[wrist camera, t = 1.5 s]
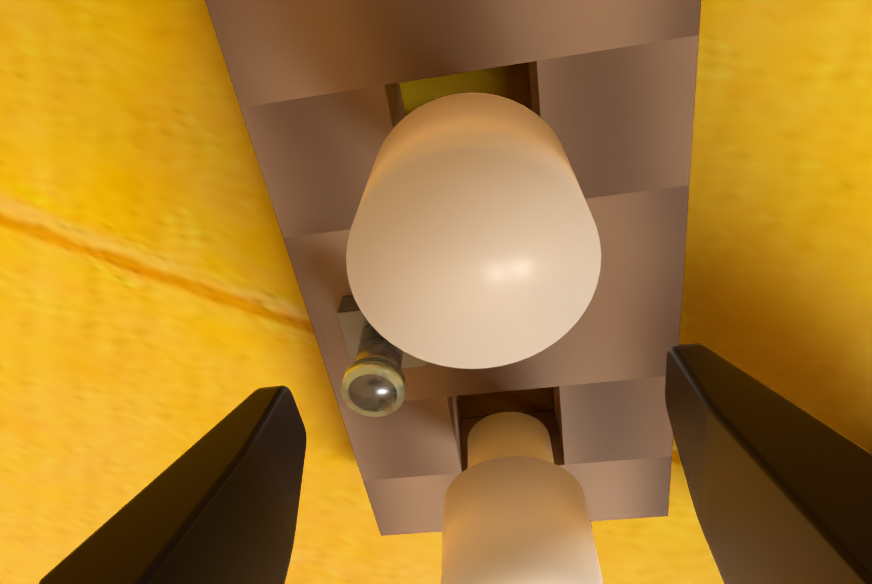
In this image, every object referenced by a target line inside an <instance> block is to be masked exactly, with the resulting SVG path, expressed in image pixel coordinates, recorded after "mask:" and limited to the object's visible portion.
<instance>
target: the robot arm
mask: <svg viewBox="0 0 872 584" xmlns="http://www.w3.org/2000/svg"><path fill="white" fill-rule="evenodd" d="M665 403H666V409H667V413H668V416H669V420H670V424H671V427H672V431H673V434H674V438H675V441H676V445H677V448H678V452H679V455H680V459H681V462H682V466H683V470H684V473H685V477H686V480H687V484H688V487H689V491H690V494H691V498H692V501H693V504H694V508H695V511H696V514H697V517H698V520H699V523H700V525H701V528H702V530H703V533H704V536H705V538H706V541H707V543H708V545H709V548H710V550H711V553H712V555H713V557H714V560H715V562H716V565H717V567H718V569H719V572H720V574H721V577H722V579H723V581H724V584H872V453H870V452H869V451H867V450H866V449H864V448H863V447H861V446H859V445H858V444H856V443H855V442H853V441H852V440H850V439H849V438H847V437H846V436H844V435H843V434H841V433H839V432H838V431H836V430H835V429H833V428H832V427H830V426H829V425H827V424H826V423H824V422H822V421H821V420H819V419H818V418H816V417H815V416H813V415H812V414H810V413H809V412H807V411H806V410H804V409H802V408H801V407H799V406H798V405H796V404H795V403H793V402H792V401H790V400H789V399H787V398H786V397H784V396H782V395H781V394H779V393H778V392H776V391H775V390H773V389H772V388H770V387H769V386H767V385H766V384H764V383H762V382H761V381H759V380H758V379H756V378H755V377H753V376H752V375H750V374H749V373H747V372H746V371H744V370H742V369H741V368H739V367H738V366H736V365H735V364H733V363H732V362H730V361H729V360H727V359H725V358H724V357H722V356H721V355H719V354H718V353H716V352H715V351H713V350H712V349H710V348H709V347H707V346H705V345H703V344H698V343H696V344H686V345H677V346H672V347H671V348H669V350H668V352H667V358H666V379H665ZM305 450H306V431H305V427H304V424H303V422H302V419H301V416H300V414H299V411H298V408H297V406H296V403H295V401H294V398H293V395H292V393H291V391H290V390H289V389H288V388H287V387H285V386H274V387H264V388H259V389H257V390H256V391H254V392H253V393H252V394H251V395H250V396H249V397H247V398H246V399H245V400H244V401H243V402H242V403H241V404H240V405H238V406H237V407H236V408H235V409H234V410H233V411H232V412H230V413H229V414H228V415H227V416H226V417H225V418H224V419H223V420H221V421H220V422H219V423H218V424H217V425H216V426H215V427H213V428H212V429H211V430H210V431H209V432H208V433H207V434H205V435H204V436H203V437H202V438H201V439H200V440H199V441H198V442H196V443H195V444H194V445H193V446H192V447H191V448H190V449H188V450H187V451H186V452H185V453H184V454H183V455H182V456H181V457H179V458H178V459H177V460H176V461H175V462H174V463H173V464H171V465H170V466H169V467H168V468H167V469H166V470H165V471H164V472H162V473H161V474H160V475H159V476H158V477H157V478H156V479H154V480H153V481H152V482H151V483H150V484H149V485H148V486H147V487H145V488H144V489H143V490H142V491H141V492H140V493H139V494H137V495H136V496H135V497H134V498H133V499H132V500H131V501H130V502H128V503H127V504H126V505H125V506H124V507H123V508H122V509H120V510H119V511H118V512H117V513H116V514H115V515H114V516H113V517H111V518H110V519H109V520H108V521H107V522H106V523H105V524H103V525H102V526H101V527H100V528H99V529H98V530H97V531H95V532H94V533H93V534H92V535H91V536H90V537H89V538H88V539H86V540H85V541H84V542H83V543H82V544H81V545H80V546H78V547H77V548H76V549H75V550H74V551H73V552H72V553H71V554H69V555H68V556H67V557H66V558H65V559H64V560H63V561H61V562H60V563H59V564H58V565H57V566H56V567H55V568H53V569H52V570H51V571H50V572H49V573H48V574H47V575H46V576H44V577H43V578H42V579H41V580H40V582H39V584H285V580H286V575H287V571H288V567H289V563H290V558H291V553H292V549H293V544H294V537H295V530H296V523H297V515H298V506H299V498H300V490H301V482H302V474H303V466H304V458H305Z"/></svg>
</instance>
